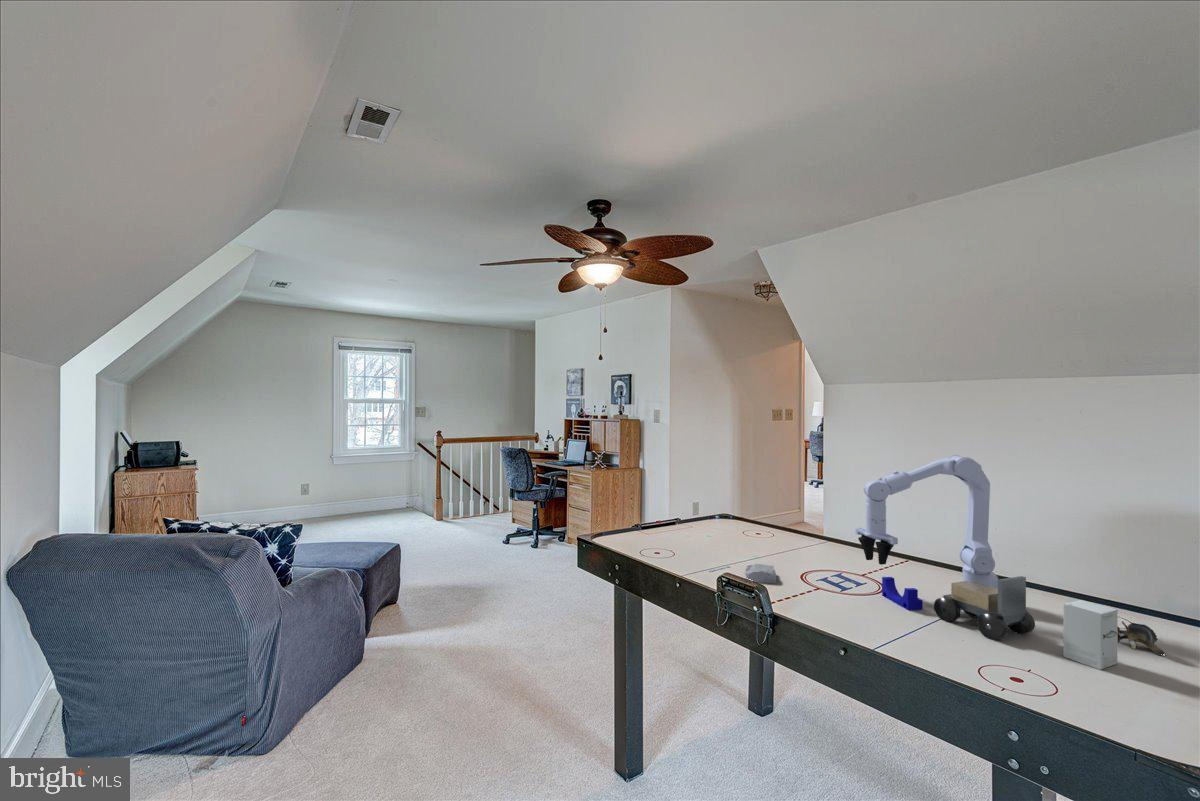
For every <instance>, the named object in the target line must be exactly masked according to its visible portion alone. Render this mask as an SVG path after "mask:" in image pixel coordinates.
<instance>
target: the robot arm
mask: <svg viewBox="0 0 1200 801" xmlns="http://www.w3.org/2000/svg"><path fill="white" fill-rule="evenodd" d="M939 474H940V475H941V474H942V475H948V476H953V477H956V478H958V479H960V481H961V482H963V483H964V484H965V485H966V486H968V504H967V525H966V526H967V528H966V538H965V539H964V541H963V543H962V544H963V545H962V548H961V549H960V551H959V559H960V561H961V562H962V563H963V565H962V581H972V582H976V583H979V584H982V585H985V586H989V587H992V588H995V589H998V579H999V576H997V574H996V573H995V572H994V570H995V568H996V561H995V559H994V557H993V550H992V548H991V545H990V543H989V525H990V524H989V520H990V500H991V499H990V498H991V496H990V494H991V483H990V480H989V478H988V476H987V475H986V474H985V472H984V471H983V469H982V465H981V464H980V463H979V462H977V461H975V459H973V458H971V457H967V456H966V457H965V456H960V455H959V454H958V455H957V454H953V455H949V456H948V457H942V458H939V459H937V460H934V461H932V462H930V463H926V464H924V465H923V466H920V467H918V468H916V469H913V470H911V471H908V472H906V471H905V472H904V471H903V470H900V471H898V470H895V471H892V474H889V475H887V476H883V477H881V476H880V477H877V480H870V481H868V482H867V483H866V484H865V486H864V488H863V492H864V494H865V496H866V499H865V502H866V503H865V528H863V527H857V528H855V535H859V537H858V541H859V543H860V545H861V547H862V549H863V552H864V556H865V560H866V561H873V559H874V548H875V546H876V549H877V555H878V558H877V559H878V564H879V565H881V566H882V565H886V564H887V561H888V558H889V555H890V553H891V550H892V549H893V548H894V547H895V545H898V544H899V540H898V537H896V536H893V535H890V534H888V533H887V505H886V504H887V501H886V500H887V498H888V497H889V496H892V495H894V494H899V493H901V492H903V491H906V490H908V489H911V487H912V485H913V483H915V482H918V481H922V480H924V479H927V478H931V477H933V476H937V475H939ZM877 540H878V541H877Z"/></svg>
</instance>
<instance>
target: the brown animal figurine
mask: <svg viewBox="0 0 1200 801" xmlns="http://www.w3.org/2000/svg"><path fill="white" fill-rule="evenodd" d="M1121 624H1122V625H1123V626H1124V628H1125V630H1124V629H1123V630H1122V629H1121V628H1120V627H1119V626H1118V641H1119V642H1121V641H1122V640H1128V642H1129V644H1130V647H1131V649H1132V648H1133V649H1132V650H1135V648H1136V647H1137V643H1140V644H1143V645H1145V647H1147V648H1149V649H1150V650H1151V651H1152V652H1154V653H1155V654H1156V655H1157V656H1161V654H1162V655H1163V654H1164V653H1165V652H1164V650H1162V649H1161V648H1160V647H1159V646H1158V645H1157V644H1155V643H1156V642H1158V641H1159V639H1158V637H1157V634H1156V632H1155V631H1154V629H1152V628H1150V626H1148V625H1147V624H1142V623H1141V624H1140V623H1135V622H1132V623H1130V624H1128V625H1126V623H1125V622H1124V621H1123V620H1122V621H1121ZM1120 634H1123V635H1120Z"/></svg>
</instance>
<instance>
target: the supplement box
mask: <svg viewBox="0 0 1200 801" xmlns="http://www.w3.org/2000/svg"><path fill="white" fill-rule="evenodd" d="M1118 611H1119V610H1118V609H1115V608H1114V607H1108V606H1106V605H1101V604H1097V603H1094V602H1089V601H1086V600H1081V599H1079V600H1074V601H1070V602H1066V603H1063V629H1062V630H1063V633H1062V634H1063V636H1062V637H1063V640H1062V643H1063V646H1062V649H1063V650H1062V652H1063V655H1062V656H1063V657H1064V658H1067V659H1069V660H1072V661H1075V662H1077V663H1080V664H1083V665H1085V666H1088V667H1091V668H1093V669H1097V670H1100V671H1101V670H1103V669H1106V668H1108V667H1111V666H1115V665H1118V627H1119V626H1118V621H1119V620H1118Z"/></svg>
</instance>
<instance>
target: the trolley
mask: <svg viewBox="0 0 1200 801" xmlns="http://www.w3.org/2000/svg"><path fill="white" fill-rule="evenodd" d="M1026 579H1027V578H1026V576H1021V575H1020V576H1012V577H1007V578H1000V579H999V578H998V589H995V588H992V587H989V586H985V585H982V584H979V583H976V582H972V581H963V580H961V581H957V582H950V583H951V588H950V589H951V591H950V592H951V593H950V594H944V595H942V596H943V597H939V598H936V599H935V600H934V602H933V610H934V613H935V615H936V616H937V617H938V618H939V619H940V620H942V621H944V622H953V621H957V620H959V618H961V612H962V611H961V610H963V612H964V613H965V614H967V615H968V616H969V617H974V618H975V617H977V618H976V626H977V629H978V631H979V633H981V635H983V636H984V637H985V638H986V639H989V640H998V639H1002V638H1004V637H1006V636H1007V634H1008V630H1011V631H1012V632H1013V633H1015V634H1017V635H1024V634H1027V633H1031V632H1033V631H1034V630H1035V627H1036V622H1035V621H1036V620H1035V619H1034V617H1033V615H1032V614H1031V613H1030V612H1029V611H1028V610H1027V580H1026Z"/></svg>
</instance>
